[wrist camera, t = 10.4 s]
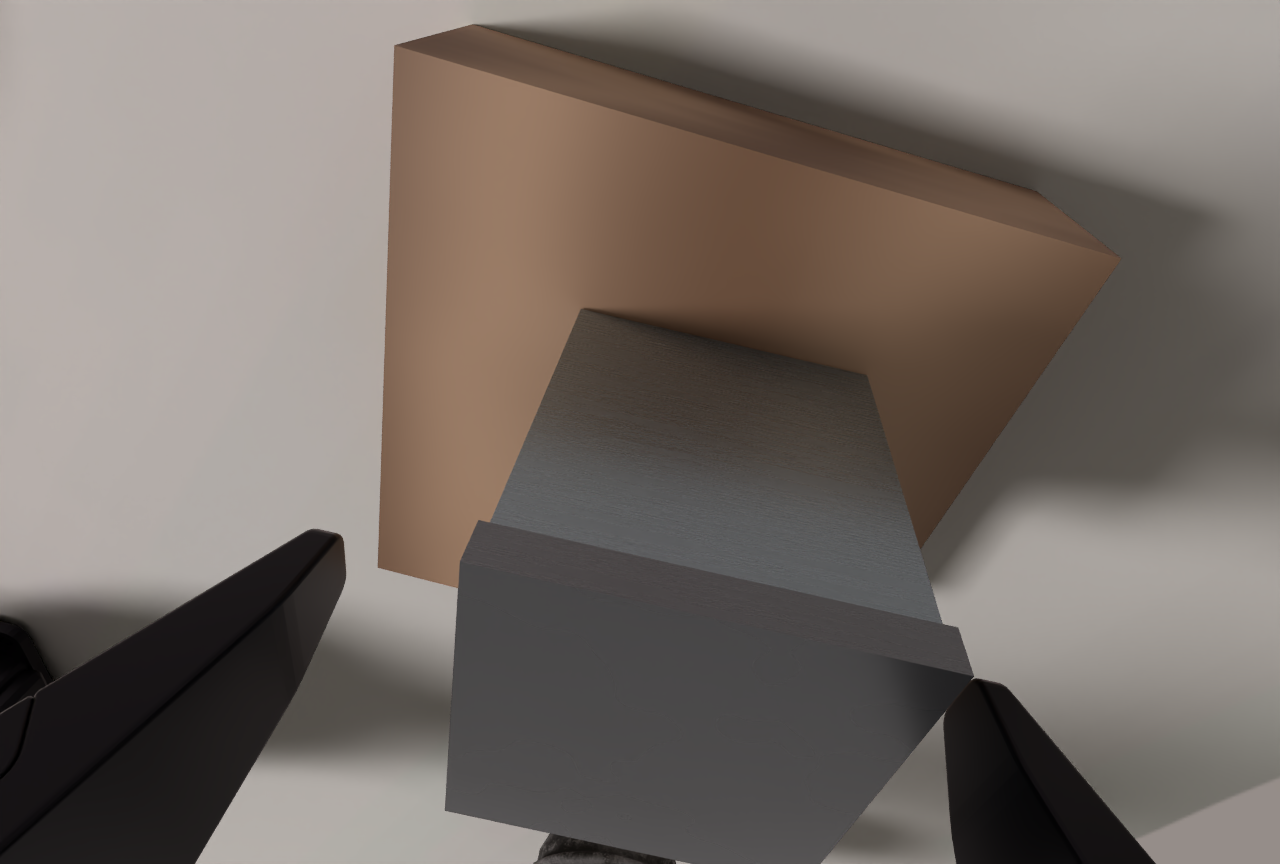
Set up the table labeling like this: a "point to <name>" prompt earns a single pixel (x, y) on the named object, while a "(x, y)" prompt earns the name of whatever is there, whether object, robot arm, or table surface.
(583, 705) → the slate tin
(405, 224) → the walnut block
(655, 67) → the table surface
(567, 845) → the dark grey tall piece
